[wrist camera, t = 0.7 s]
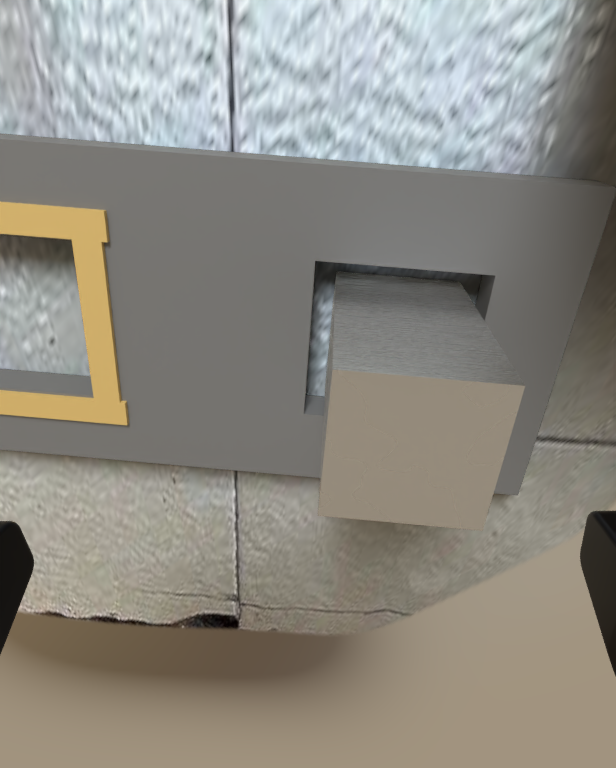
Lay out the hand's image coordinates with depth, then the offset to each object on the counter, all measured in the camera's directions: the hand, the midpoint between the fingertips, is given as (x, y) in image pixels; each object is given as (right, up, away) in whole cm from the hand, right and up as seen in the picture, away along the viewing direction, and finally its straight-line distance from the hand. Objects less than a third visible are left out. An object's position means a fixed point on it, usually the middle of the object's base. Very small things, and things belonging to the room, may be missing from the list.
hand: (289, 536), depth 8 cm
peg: (+3, +4, +12) cm, 13 cm away
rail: (-4, +5, +12) cm, 14 cm away
